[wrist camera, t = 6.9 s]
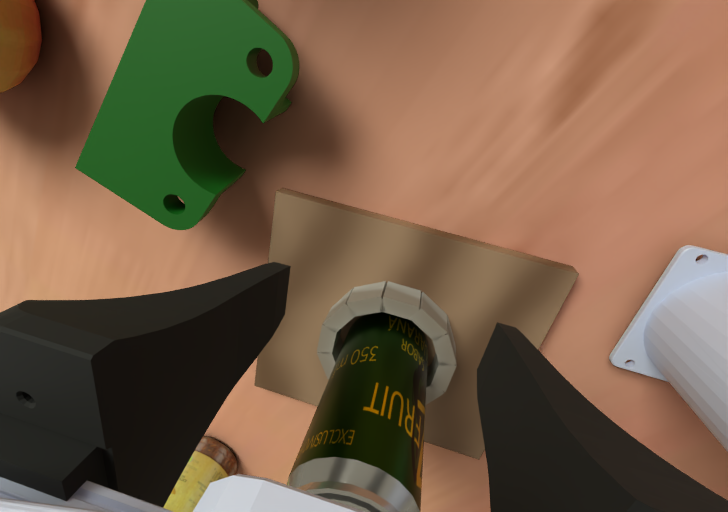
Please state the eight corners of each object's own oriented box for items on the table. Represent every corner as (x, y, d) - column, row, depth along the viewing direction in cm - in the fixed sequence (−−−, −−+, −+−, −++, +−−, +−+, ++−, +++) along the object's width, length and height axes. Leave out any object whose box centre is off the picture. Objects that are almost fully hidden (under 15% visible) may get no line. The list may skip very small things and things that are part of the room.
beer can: (390, 384, 25) (351, 593, 14) (334, 335, 24) (249, 517, 14) (446, 343, 23) (451, 554, 12) (386, 289, 22) (335, 461, 11)
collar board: (572, 266, 20) (593, 290, 18) (477, 447, 27) (482, 485, 24) (282, 188, 22) (260, 199, 19) (260, 376, 29) (241, 404, 26)
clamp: (256, 167, 26) (179, 253, 20) (182, 111, 24) (75, 187, 18) (342, 26, 18) (254, 103, 12) (238, -76, 16) (74, -44, 10)
